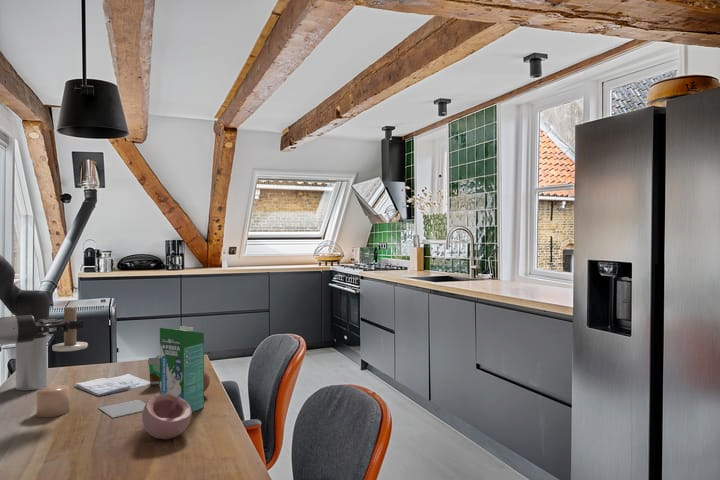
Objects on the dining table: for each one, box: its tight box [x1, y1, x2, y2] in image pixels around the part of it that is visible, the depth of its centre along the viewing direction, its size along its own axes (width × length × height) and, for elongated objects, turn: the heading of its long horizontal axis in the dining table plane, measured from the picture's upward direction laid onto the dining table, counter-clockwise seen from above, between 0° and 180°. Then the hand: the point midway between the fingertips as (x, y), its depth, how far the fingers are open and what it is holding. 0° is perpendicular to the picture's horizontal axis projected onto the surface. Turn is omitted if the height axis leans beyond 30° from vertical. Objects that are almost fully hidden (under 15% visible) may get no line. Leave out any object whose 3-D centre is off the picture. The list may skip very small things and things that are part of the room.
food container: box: [147, 355, 160, 387], centre depth 192 cm, size 12×6×10 cm, turn 168°
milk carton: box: [159, 325, 205, 413], centre depth 162 cm, size 9×9×25 cm
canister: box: [35, 384, 70, 418], centre depth 159 cm, size 8×8×7 cm
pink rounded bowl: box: [141, 393, 193, 440], centre depth 140 cm, size 12×12×12 cm
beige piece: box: [51, 306, 89, 352], centre depth 160 cm, size 9×9×12 cm
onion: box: [204, 370, 211, 392], centre depth 176 cm, size 10×9×10 cm
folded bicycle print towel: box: [74, 373, 150, 397], centre depth 189 cm, size 19×20×2 cm
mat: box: [98, 399, 147, 419], centre depth 163 cm, size 12×12×1 cm
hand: (80, 323), depth 162 cm, fingers closed on beige piece, 3 cm apart
